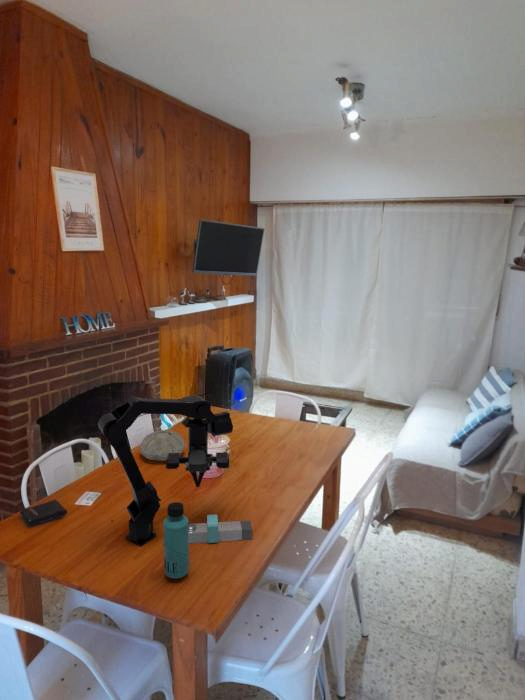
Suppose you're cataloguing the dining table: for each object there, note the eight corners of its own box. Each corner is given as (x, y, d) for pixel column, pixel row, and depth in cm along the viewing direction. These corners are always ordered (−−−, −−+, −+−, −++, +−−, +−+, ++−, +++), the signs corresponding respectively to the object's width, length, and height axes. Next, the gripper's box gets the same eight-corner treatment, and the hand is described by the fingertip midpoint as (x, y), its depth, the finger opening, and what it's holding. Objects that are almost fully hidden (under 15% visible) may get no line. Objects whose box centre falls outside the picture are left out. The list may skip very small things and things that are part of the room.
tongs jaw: (189, 537, 138) (189, 528, 138) (189, 533, 141) (189, 524, 140) (250, 534, 141) (251, 524, 140) (249, 529, 143) (250, 520, 142)
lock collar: (207, 543, 135) (207, 526, 134) (207, 530, 141) (207, 515, 140) (218, 542, 136) (218, 526, 135) (217, 530, 142) (217, 514, 141)
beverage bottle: (191, 567, 125) (190, 498, 121) (187, 584, 119) (187, 512, 115) (166, 567, 125) (164, 498, 121) (161, 584, 118) (160, 511, 114)
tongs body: (182, 544, 135) (182, 531, 134) (182, 535, 139) (182, 523, 139) (251, 539, 138) (252, 527, 137) (250, 531, 142) (250, 519, 141)
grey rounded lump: (173, 469, 182) (172, 444, 180) (131, 463, 187) (130, 439, 185) (191, 451, 199) (191, 428, 197) (153, 446, 204) (152, 423, 202)
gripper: (163, 449, 133) (164, 500, 136) (230, 448, 135) (229, 499, 138) (167, 434, 143) (167, 482, 146) (229, 434, 145) (228, 481, 148)
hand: (197, 486), depth 144 cm, fingers closed
